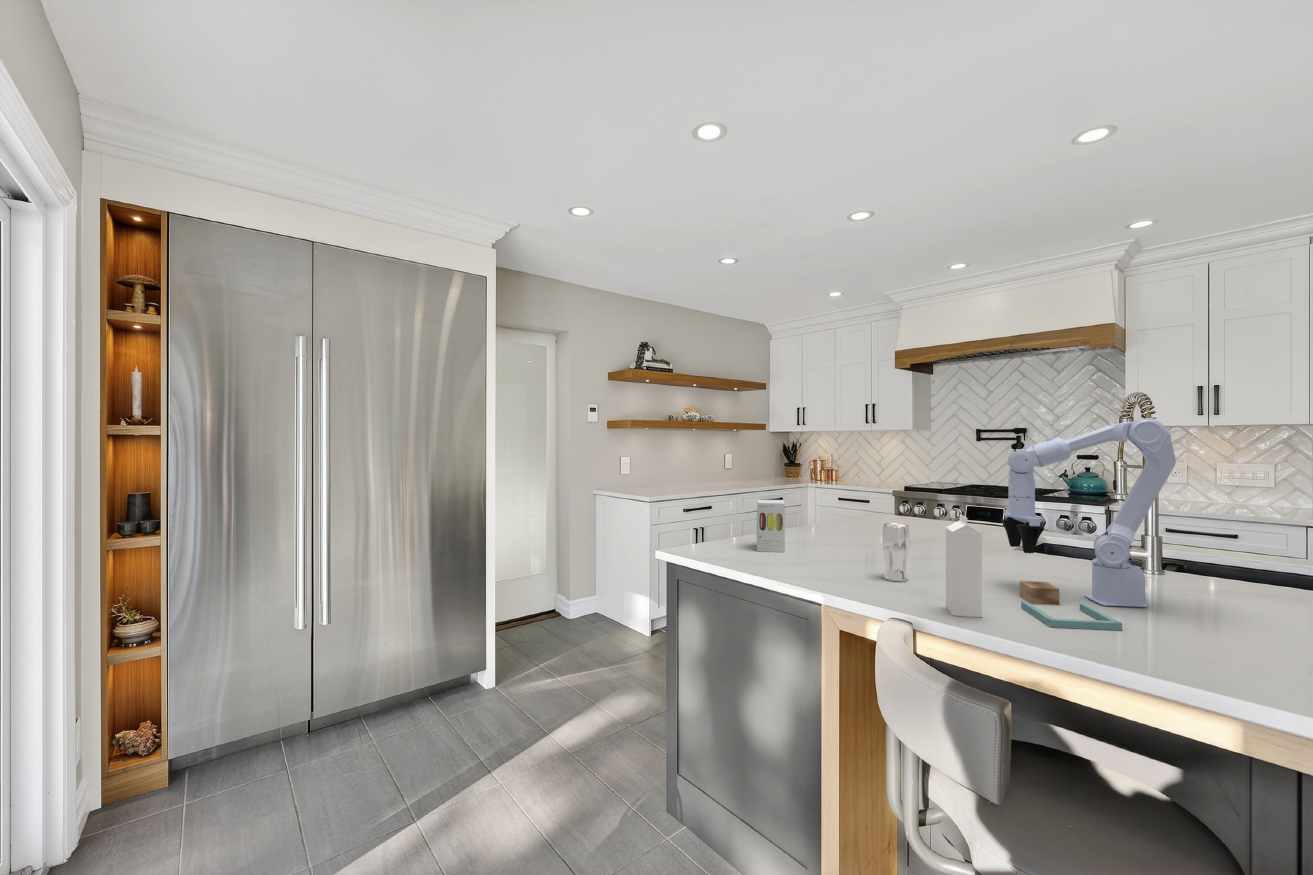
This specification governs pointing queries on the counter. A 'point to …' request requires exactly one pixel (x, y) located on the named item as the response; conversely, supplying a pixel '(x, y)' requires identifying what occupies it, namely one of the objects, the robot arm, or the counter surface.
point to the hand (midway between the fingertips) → (1021, 549)
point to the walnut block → (1039, 592)
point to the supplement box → (771, 526)
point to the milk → (963, 569)
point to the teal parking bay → (1101, 623)
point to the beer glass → (895, 551)
